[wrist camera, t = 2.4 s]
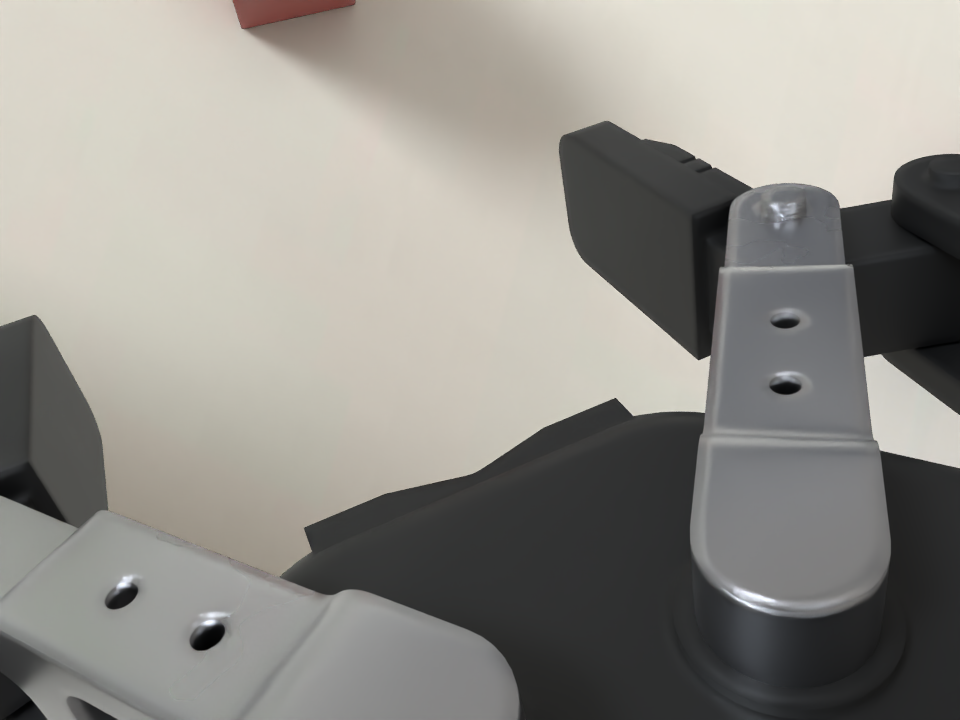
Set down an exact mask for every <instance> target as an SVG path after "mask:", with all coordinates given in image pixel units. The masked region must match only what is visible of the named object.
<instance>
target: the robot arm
mask: <svg viewBox="0 0 960 720" xmlns="http://www.w3.org/2000/svg"><path fill="white" fill-rule="evenodd" d="M559 155H560V163H561V170H562V178H563V185H564V193H565V200H566V207H567V215H568V222H569V228H570V233H571V236H572V240H573V242H574V245H575V247H576V249H577V251H578V253H579V255H580V256H581V258H582V259H583V260H584V262H585V263H586V264H588V265H589V266H590V267H591V268H592V269H593V270H595V271H596V272H597V273H598V274H599V275H600V276H601V277H603V278H604V279H605V280H606V281H607V282H608V283H610V284H611V285H612V286H613V287H614V288H615V289H616V290H618V291H619V292H620V293H621V294H622V295H623V296H625V297H626V298H627V299H628V300H629V301H630V302H632V303H633V304H634V305H635V306H636V307H637V308H638V309H640V310H641V311H642V312H643V313H644V314H645V315H647V316H648V317H649V318H650V319H651V320H652V321H654V322H655V323H656V324H657V325H658V326H659V327H660V328H662V329H663V330H664V331H665V332H666V333H667V334H669V335H670V336H671V337H672V338H673V339H674V340H676V341H677V342H678V343H679V344H680V345H681V346H682V347H684V348H685V349H686V350H687V351H688V352H689V353H691V354H692V355H693V356H694V357H695V358H696V359H697V360H701V359H703V358H705V357H708V356H710V355H711V359H710V369H709V379H708V389H707V400H706V410H705V413H700V412H660V413H652V414H644V415H638V416H632V414H631V413H630V412H629V411H628V410H627V409H626V408H625V407H624V406H623V405H622V404H621V403H620V402H619V401H618V400H617V399H616V398H614V399H612V400H609V401H607V402H605V403H602V404H600V405H597V406H595V407H593V408H590V409H588V410H585V411H583V412H581V413H578V414H576V415H573V416H571V417H569V418H566V419H564V420H561V421H559V422H557V423H554V424H552V425H549V426H547V427H545V428H543V429H541V430H540V431H538V432H537V433H535V434H534V435H532V436H531V437H529V438H528V439H526V440H525V441H523V442H522V443H520V444H519V445H517V446H516V447H514V448H513V449H511V450H510V451H508V452H507V453H505V454H504V455H502V456H501V457H499V458H498V459H496V460H495V461H493V462H492V463H490V464H489V465H487V466H486V467H484V468H483V469H481V470H479V471H478V472H476V473H473V474H471V475H467V476H463V477H459V478H454V479H450V480H445V481H441V482H436V483H432V484H427V485H423V486H418V487H414V488H409V489H405V490H401V491H396V492H392V493H387V494H384V495H381V496H379V497H377V498H374V499H372V500H369V501H367V502H365V503H362V504H360V505H357V506H355V507H353V508H350V509H348V510H345V511H343V512H341V513H338V514H336V515H333V516H331V517H329V518H326V519H324V520H321V521H319V522H317V523H314V524H312V525H309V526H307V527H305V528H304V530H305V533H306V535H307V538H308V541H309V544H310V547H311V550H312V552H311V553H309V554H308V555H306V556H305V557H304V558H302V559H301V560H299V561H298V562H297V563H295V564H294V565H293V566H292V567H291V568H289V569H288V570H287V571H286V572H284V573H283V574H282V575H281V576H280V577H277V576H274V575H272V574H269V573H267V572H264V571H262V570H259V569H257V568H254V567H251V566H249V565H246V564H244V563H241V562H239V561H236V560H234V559H231V558H229V557H226V556H224V555H221V554H218V553H216V552H213V551H211V550H208V549H206V548H203V547H201V546H198V545H196V544H193V543H191V542H188V541H185V540H183V539H180V538H178V537H175V536H173V535H170V534H168V533H165V532H163V531H160V530H158V529H155V528H152V527H150V526H147V525H145V524H142V523H140V522H137V521H135V520H132V519H130V518H127V517H125V516H122V515H119V514H117V513H114V512H111V511H108V502H107V491H106V480H105V469H104V458H103V447H102V440H101V435H100V432H99V429H98V426H97V423H96V420H95V418H94V415H93V413H92V411H91V408H90V406H89V404H88V402H87V401H86V399H85V397H84V395H83V393H82V392H81V390H80V388H79V386H78V384H77V382H76V381H75V379H74V377H73V375H72V373H71V372H70V370H69V368H68V366H67V364H66V363H65V361H64V359H63V357H62V355H61V354H60V352H59V350H58V348H57V346H56V345H55V343H54V341H53V339H52V337H51V336H50V334H49V332H48V330H47V329H46V327H45V325H44V324H43V322H42V321H41V320H40V319H39V318H38V317H37V316H36V315H32V316H29V317H26V318H24V319H21V320H18V321H15V322H12V323H9V324H6V325H3V326H0V720H960V468H955V467H951V466H946V465H942V464H937V463H933V462H928V461H924V460H919V459H915V458H910V457H906V456H902V455H897V454H893V453H888V452H884V451H880V450H879V445H878V442H877V441H875V440H874V439H873V435H872V427H871V419H870V410H869V401H868V392H867V383H866V375H865V366H864V357H866V356H872V355H878V354H882V355H883V357H884V358H885V359H886V360H887V361H889V362H890V363H891V364H892V365H894V366H895V367H896V368H898V369H899V370H900V371H902V372H903V373H904V374H906V375H907V376H908V377H910V378H911V379H912V380H914V381H915V382H916V383H918V384H919V385H920V386H922V387H923V388H924V389H926V390H927V391H928V392H930V393H931V394H932V395H934V396H935V397H936V398H938V399H939V400H940V401H942V402H943V403H944V404H946V405H947V406H948V407H950V408H951V409H952V410H954V411H955V412H956V413H958V414H959V415H960V154H942V155H932V156H927V157H922V158H919V159H915V160H912V161H910V162H908V163H906V164H904V165H902V166H901V167H900V168H899V169H898V170H897V171H896V173H895V176H894V183H893V194H892V200H887V201H881V202H876V203H870V204H864V205H859V206H853V207H848V208H840V207H839V202H838V200H837V199H836V197H835V196H834V195H832V194H831V193H830V192H828V191H826V190H824V189H821V188H819V187H815V186H811V185H805V184H796V183H781V184H772V185H766V186H762V187H758V188H755V189H753V188H751V187H749V186H748V185H746V184H744V183H742V182H740V181H739V180H737V179H735V178H733V177H731V176H730V175H728V174H726V173H724V172H722V171H721V170H719V169H717V168H713V169H712V167H711V165H710V164H708V163H706V162H704V161H703V160H701V159H695V156H694V155H692V154H690V153H688V152H686V151H685V150H683V149H681V148H679V147H677V146H676V145H672V144H667V143H662V142H657V141H652V140H647V139H644V140H641V139H639V138H637V137H636V136H634V135H632V134H630V133H629V132H627V131H625V130H623V129H622V128H620V127H618V126H617V125H615V124H613V123H611V122H609V121H604V122H601V123H598V124H595V125H592V126H589V127H586V128H583V129H580V130H577V131H575V132H572V133H569V134H566V135H563V136H562V138H561V140H560V144H559Z"/></svg>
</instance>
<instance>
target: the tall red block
mask: <svg viewBox="0 0 960 720" xmlns="http://www.w3.org/2000/svg"><path fill="white" fill-rule="evenodd" d="M355 1H356V0H233V3H234V6H235V9H236V12H237V16H238V19H239V22H240V25H241V28H242V29H246V28H250V27H255V26H259V25H264V24H268V23H273V22H278V21H282V20H287V19H291V18H296V17H300V16H305V15H309V14H314V13H318V12H323V11H327V10H332V9H336V8H341V7H345V6H350V5H354V4H355Z"/></svg>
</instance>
